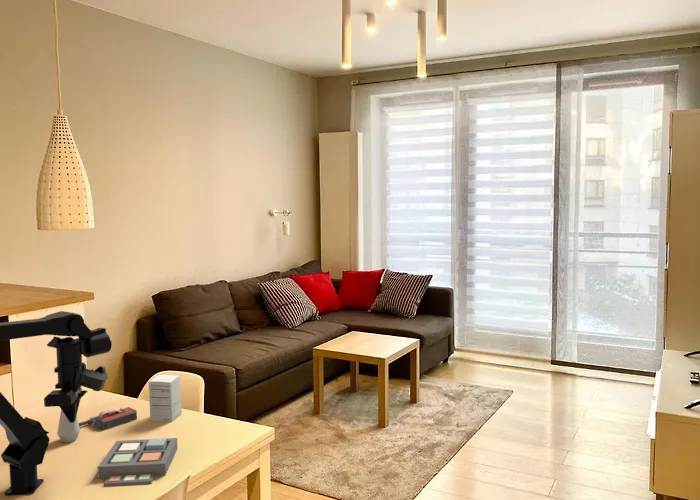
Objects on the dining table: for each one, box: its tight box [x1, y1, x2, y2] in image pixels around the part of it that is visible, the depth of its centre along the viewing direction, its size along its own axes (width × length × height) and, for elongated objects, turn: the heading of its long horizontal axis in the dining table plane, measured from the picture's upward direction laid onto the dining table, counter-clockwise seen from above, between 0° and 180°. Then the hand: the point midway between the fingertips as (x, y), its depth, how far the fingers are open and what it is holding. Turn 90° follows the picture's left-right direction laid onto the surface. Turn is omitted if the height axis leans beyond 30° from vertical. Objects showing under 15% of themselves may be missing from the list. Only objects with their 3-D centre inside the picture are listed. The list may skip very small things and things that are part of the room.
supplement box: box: [148, 374, 182, 423], centre depth 188 cm, size 7×7×13 cm
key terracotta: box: [139, 452, 161, 462], centre depth 152 cm, size 4×4×2 cm
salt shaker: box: [56, 408, 81, 444], centre depth 170 cm, size 6×6×13 cm
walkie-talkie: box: [78, 406, 138, 431], centre depth 182 cm, size 9×4×20 cm
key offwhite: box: [118, 443, 140, 452], centre depth 158 cm, size 4×4×2 cm
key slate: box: [146, 437, 167, 451], centre depth 159 cm, size 4×4×2 cm
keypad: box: [97, 437, 178, 487], centre depth 153 cm, size 20×16×3 cm
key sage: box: [110, 454, 133, 464], centre depth 151 cm, size 4×4×2 cm
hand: (72, 422), depth 152 cm, fingers closed
